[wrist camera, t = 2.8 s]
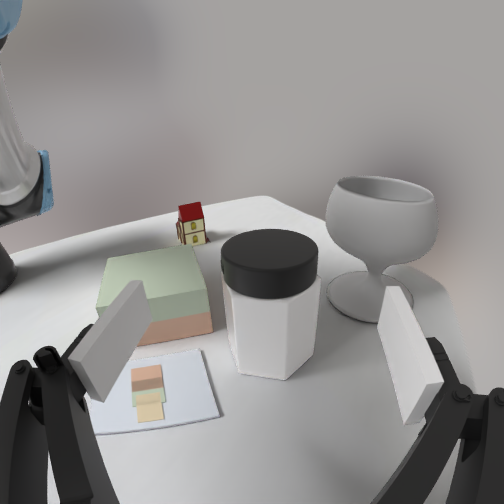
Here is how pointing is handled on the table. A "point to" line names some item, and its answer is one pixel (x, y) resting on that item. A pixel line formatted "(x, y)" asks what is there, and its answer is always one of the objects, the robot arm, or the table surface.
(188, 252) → the tower base
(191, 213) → the toy house
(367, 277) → the chalice
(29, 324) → the table surface
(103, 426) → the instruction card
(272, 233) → the jar
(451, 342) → the table surface
